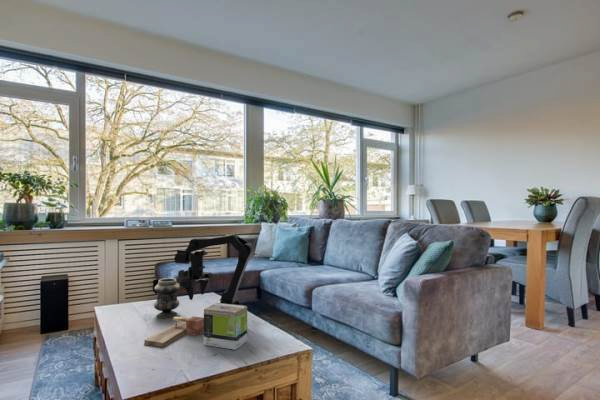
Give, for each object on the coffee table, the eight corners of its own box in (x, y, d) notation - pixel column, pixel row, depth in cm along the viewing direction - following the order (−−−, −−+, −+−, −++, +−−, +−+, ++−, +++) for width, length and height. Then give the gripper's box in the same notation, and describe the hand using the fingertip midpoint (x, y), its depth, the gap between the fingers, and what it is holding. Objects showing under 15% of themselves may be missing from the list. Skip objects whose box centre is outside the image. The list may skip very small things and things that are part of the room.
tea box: (248, 340, 139) (248, 305, 139) (235, 351, 130) (235, 312, 130) (216, 336, 144) (216, 301, 144) (202, 345, 134) (202, 308, 135)
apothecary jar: (184, 314, 171) (184, 278, 172) (163, 321, 161) (164, 283, 161) (169, 309, 178) (169, 276, 178) (148, 316, 168) (149, 280, 168)
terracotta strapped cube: (204, 331, 149) (204, 317, 149) (198, 335, 144) (198, 321, 144) (177, 327, 153) (177, 314, 153) (170, 331, 148) (170, 318, 148)
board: (194, 328, 152) (194, 324, 152) (163, 347, 132) (163, 342, 132) (177, 326, 155) (177, 322, 155) (144, 344, 135) (144, 339, 135)
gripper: (193, 260, 172) (193, 290, 171) (169, 267, 154) (169, 301, 154) (213, 261, 168) (212, 292, 168) (190, 268, 150) (190, 303, 150)
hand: (196, 297), depth 160 cm, fingers open, 9 cm apart
